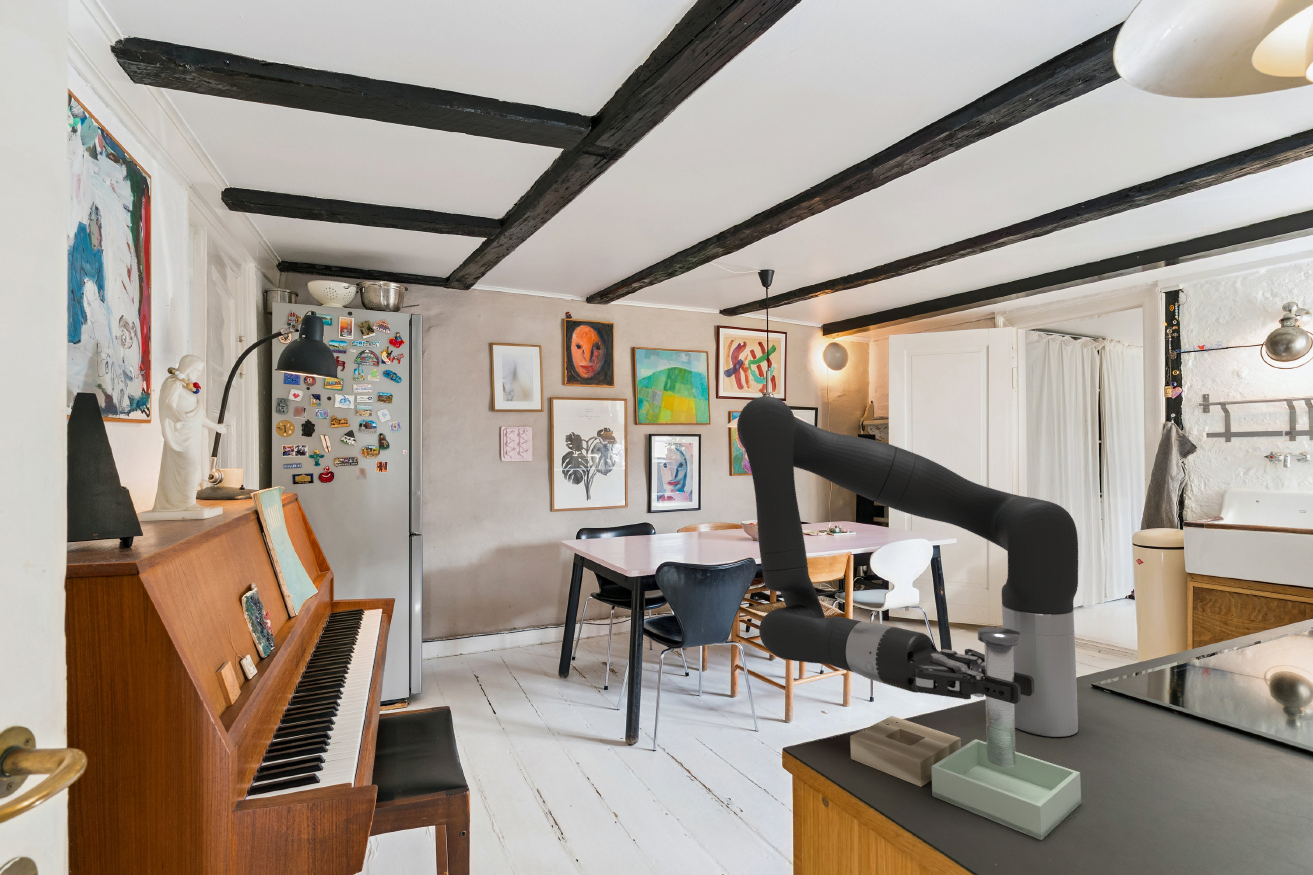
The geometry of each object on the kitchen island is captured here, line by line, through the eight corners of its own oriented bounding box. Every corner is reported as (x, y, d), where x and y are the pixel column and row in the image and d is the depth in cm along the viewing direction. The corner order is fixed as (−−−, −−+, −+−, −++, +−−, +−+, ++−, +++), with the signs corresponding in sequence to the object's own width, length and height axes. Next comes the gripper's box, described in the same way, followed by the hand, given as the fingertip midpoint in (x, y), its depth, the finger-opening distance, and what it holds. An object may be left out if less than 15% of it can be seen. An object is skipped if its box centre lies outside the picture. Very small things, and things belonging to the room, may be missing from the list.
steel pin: (990, 748, 81) (988, 624, 81) (1029, 761, 78) (1026, 632, 78) (973, 759, 78) (970, 631, 79) (1012, 773, 75) (1009, 639, 75)
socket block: (892, 736, 95) (891, 715, 95) (961, 760, 88) (960, 737, 88) (850, 758, 89) (850, 735, 89) (921, 786, 81) (920, 761, 81)
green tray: (976, 766, 86) (975, 738, 86) (1081, 802, 77) (1080, 772, 77) (932, 795, 79) (931, 766, 79) (1041, 840, 70) (1040, 806, 70)
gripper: (858, 636, 85) (997, 670, 72) (917, 617, 94) (1050, 645, 80) (859, 695, 85) (998, 741, 72) (918, 671, 94) (1052, 707, 80)
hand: (1025, 690), depth 76 cm, fingers closed on steel pin, 3 cm apart
